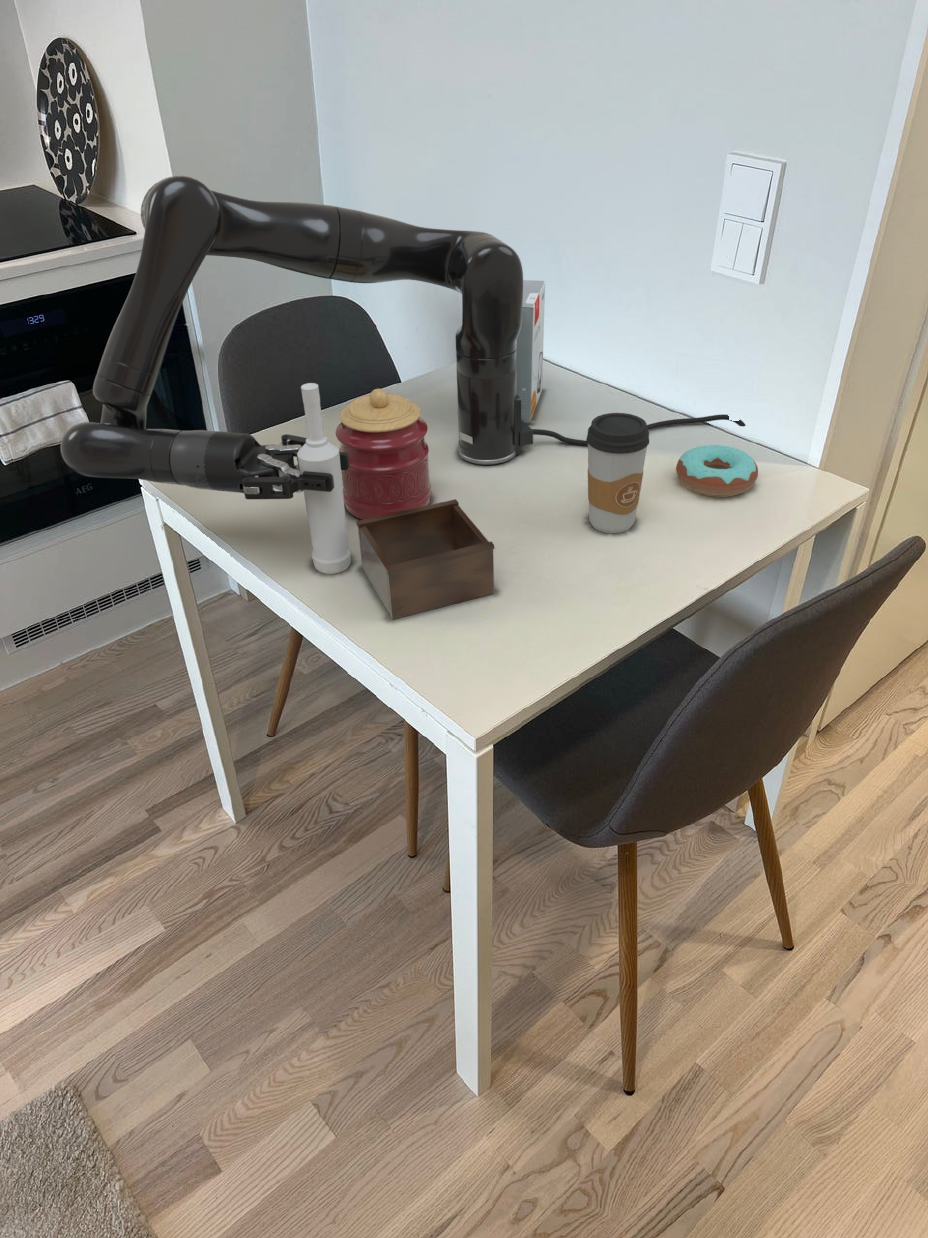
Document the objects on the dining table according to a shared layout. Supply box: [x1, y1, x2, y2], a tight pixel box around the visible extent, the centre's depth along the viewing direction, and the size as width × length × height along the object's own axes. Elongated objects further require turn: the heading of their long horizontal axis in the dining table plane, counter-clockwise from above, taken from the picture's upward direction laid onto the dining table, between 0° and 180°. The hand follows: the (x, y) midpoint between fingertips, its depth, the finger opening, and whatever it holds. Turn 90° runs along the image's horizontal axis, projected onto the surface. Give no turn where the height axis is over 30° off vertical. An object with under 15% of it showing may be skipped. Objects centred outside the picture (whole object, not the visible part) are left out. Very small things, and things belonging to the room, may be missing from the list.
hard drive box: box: [516, 279, 546, 424], centre depth 160 cm, size 16×8×20 cm, turn 168°
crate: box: [355, 498, 495, 620], centre depth 119 cm, size 14×13×7 cm
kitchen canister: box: [335, 388, 432, 520], centre depth 133 cm, size 13×13×18 cm
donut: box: [675, 444, 759, 498], centre depth 139 cm, size 12×12×4 cm
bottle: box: [297, 382, 352, 575], centre depth 117 cm, size 5×5×25 cm
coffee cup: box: [585, 412, 650, 534], centre depth 127 cm, size 8×8×15 cm
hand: (340, 471), depth 116 cm, fingers closed on bottle, 5 cm apart
